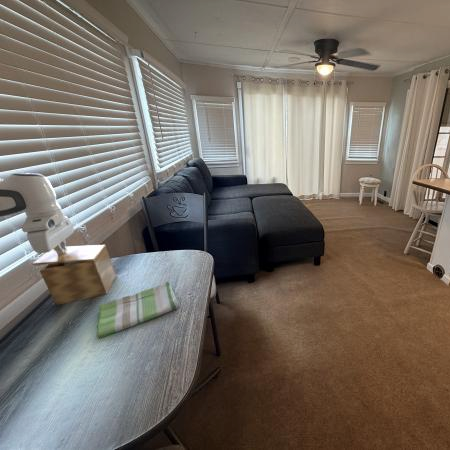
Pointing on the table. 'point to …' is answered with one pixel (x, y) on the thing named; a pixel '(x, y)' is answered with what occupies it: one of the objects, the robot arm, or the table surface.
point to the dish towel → (135, 309)
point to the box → (79, 279)
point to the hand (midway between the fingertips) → (62, 253)
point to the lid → (71, 255)
